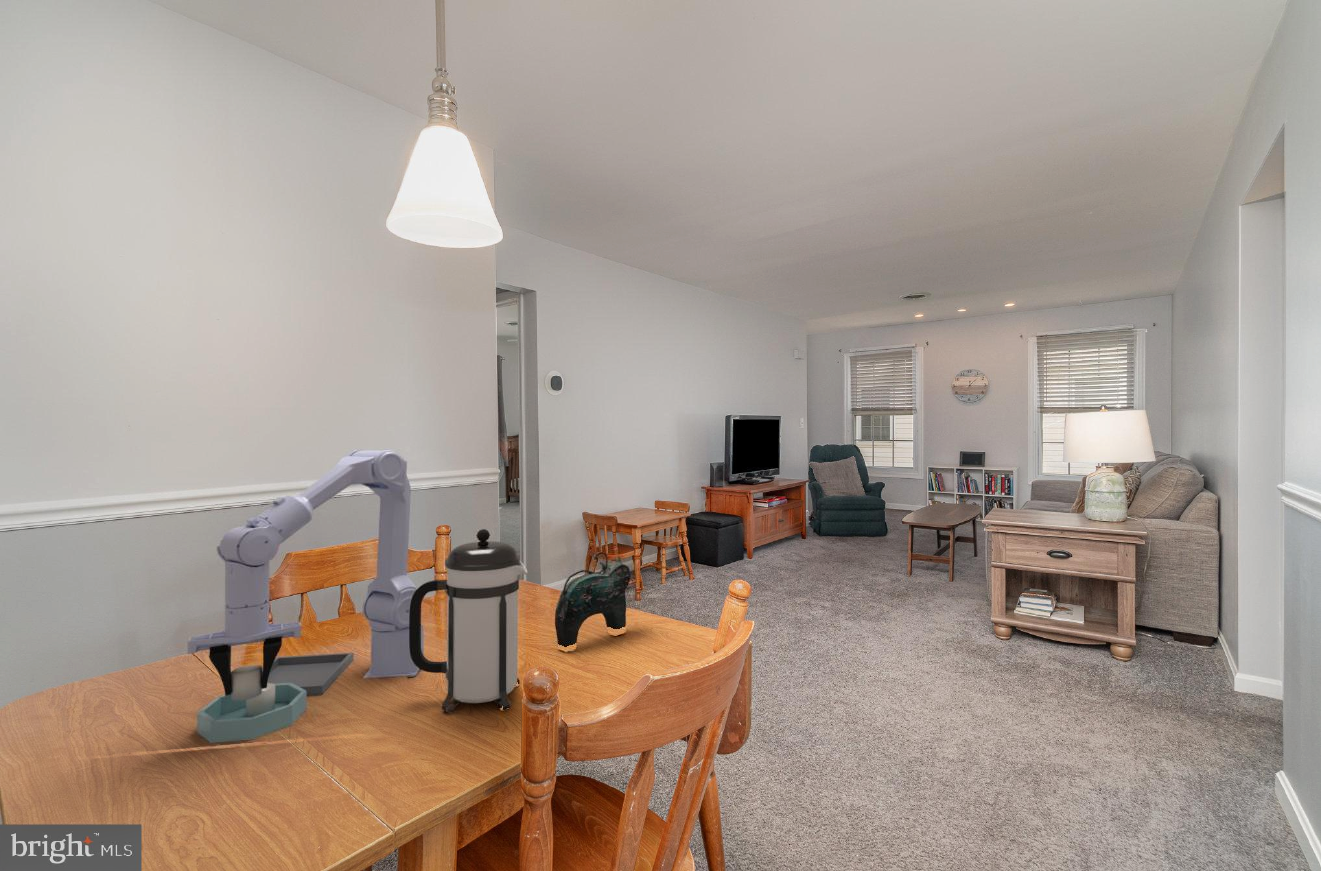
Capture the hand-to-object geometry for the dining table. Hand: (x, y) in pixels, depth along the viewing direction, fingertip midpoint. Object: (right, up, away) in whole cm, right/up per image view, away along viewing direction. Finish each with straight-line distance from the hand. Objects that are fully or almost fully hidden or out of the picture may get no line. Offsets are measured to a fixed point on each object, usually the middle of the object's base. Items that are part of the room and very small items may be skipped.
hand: (246, 689), depth 92 cm
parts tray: (-3, -6, +19) cm, 20 cm away
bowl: (0, -6, +2) cm, 7 cm away
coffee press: (+33, -7, +11) cm, 35 cm away
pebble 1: (0, -1, 0) cm, 1 cm away
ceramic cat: (+51, -7, +41) cm, 65 cm away
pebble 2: (-1, -6, +5) cm, 7 cm away
